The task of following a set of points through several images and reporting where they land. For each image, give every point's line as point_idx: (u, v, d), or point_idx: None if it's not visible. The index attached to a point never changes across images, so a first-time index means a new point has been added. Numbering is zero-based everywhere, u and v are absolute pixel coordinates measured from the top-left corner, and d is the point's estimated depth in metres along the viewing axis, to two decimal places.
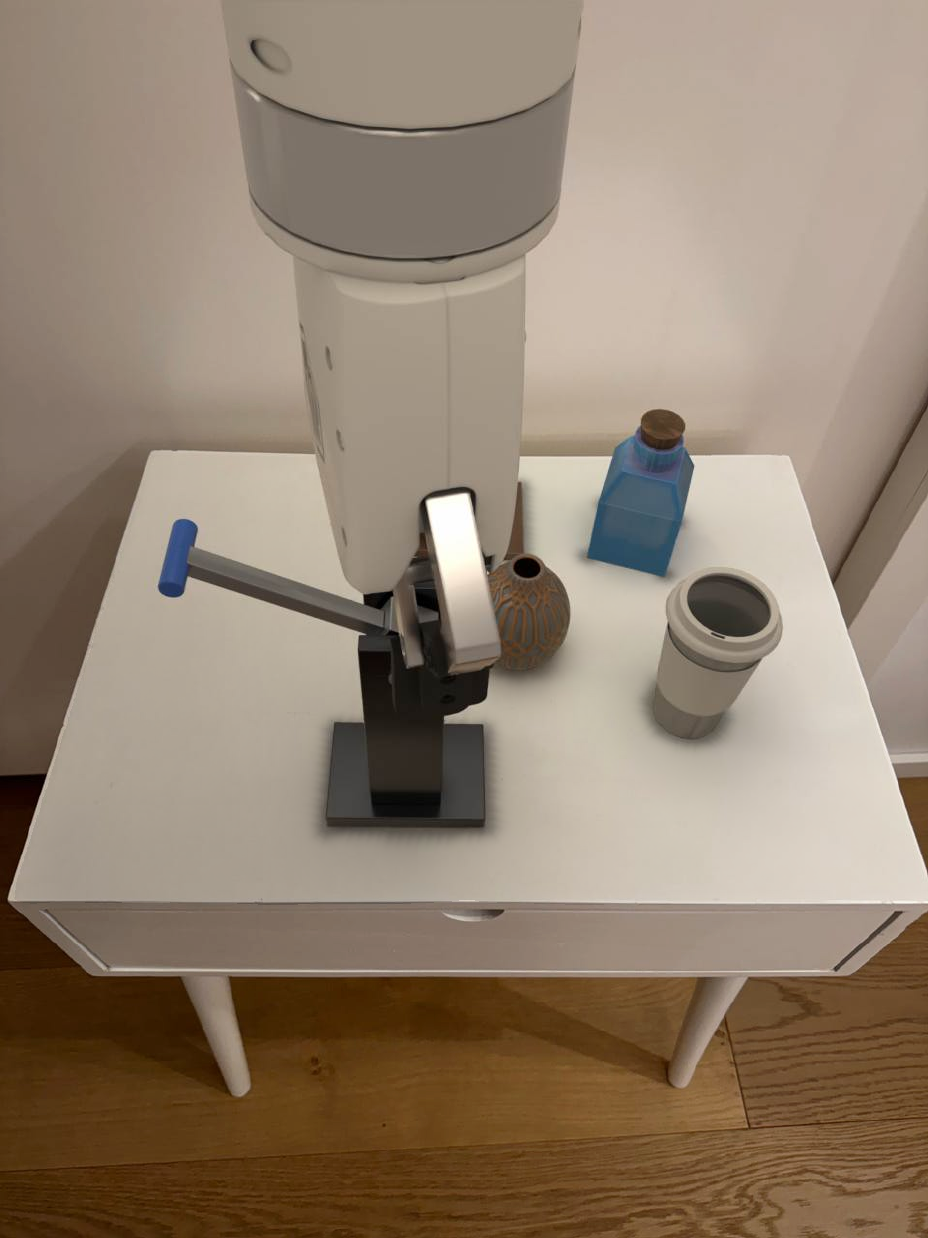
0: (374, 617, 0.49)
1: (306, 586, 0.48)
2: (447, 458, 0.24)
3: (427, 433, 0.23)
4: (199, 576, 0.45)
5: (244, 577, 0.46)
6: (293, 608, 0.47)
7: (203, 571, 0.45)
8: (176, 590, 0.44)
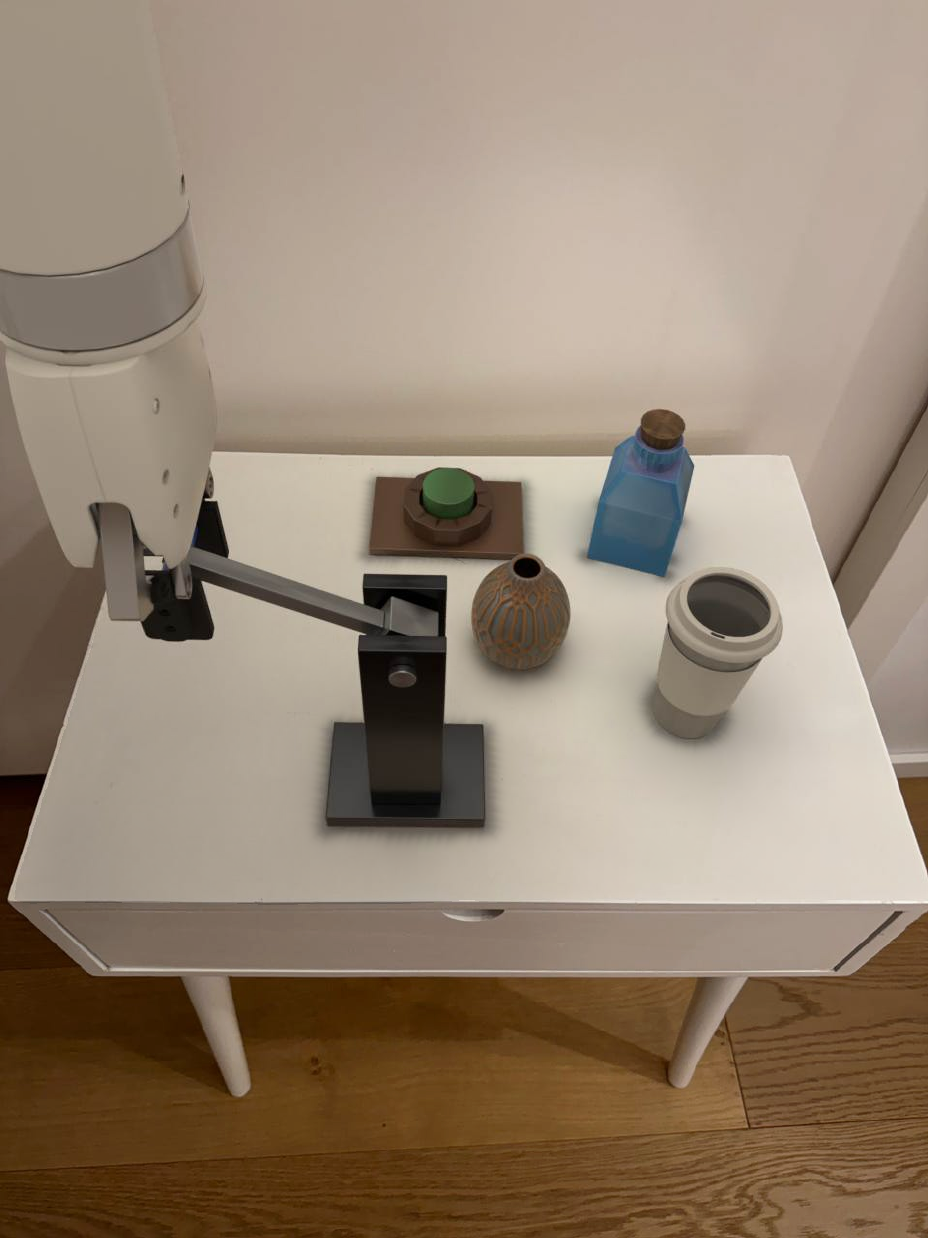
0: (374, 617, 0.49)
1: (306, 586, 0.48)
2: (98, 481, 0.34)
3: (77, 462, 0.34)
4: (199, 576, 0.45)
5: (244, 577, 0.46)
6: (293, 608, 0.47)
7: (203, 571, 0.45)
8: None
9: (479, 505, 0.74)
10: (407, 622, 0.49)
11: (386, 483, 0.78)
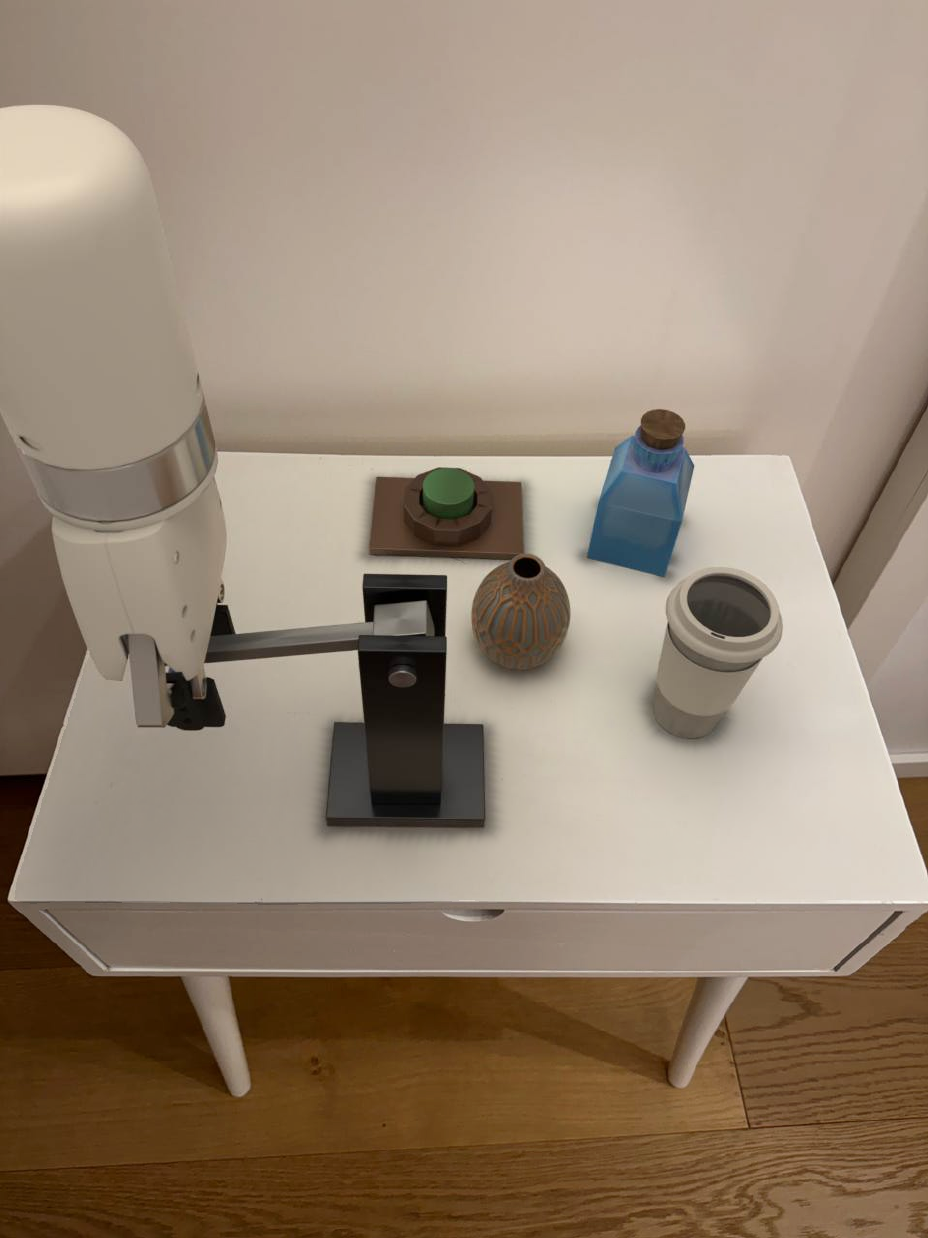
0: (365, 631, 0.50)
1: (295, 630, 0.50)
2: (127, 618, 0.41)
3: (110, 605, 0.40)
4: None
5: (236, 646, 0.50)
6: (293, 654, 0.50)
7: None
8: None
9: (479, 505, 0.74)
10: (391, 623, 0.49)
11: (386, 483, 0.78)
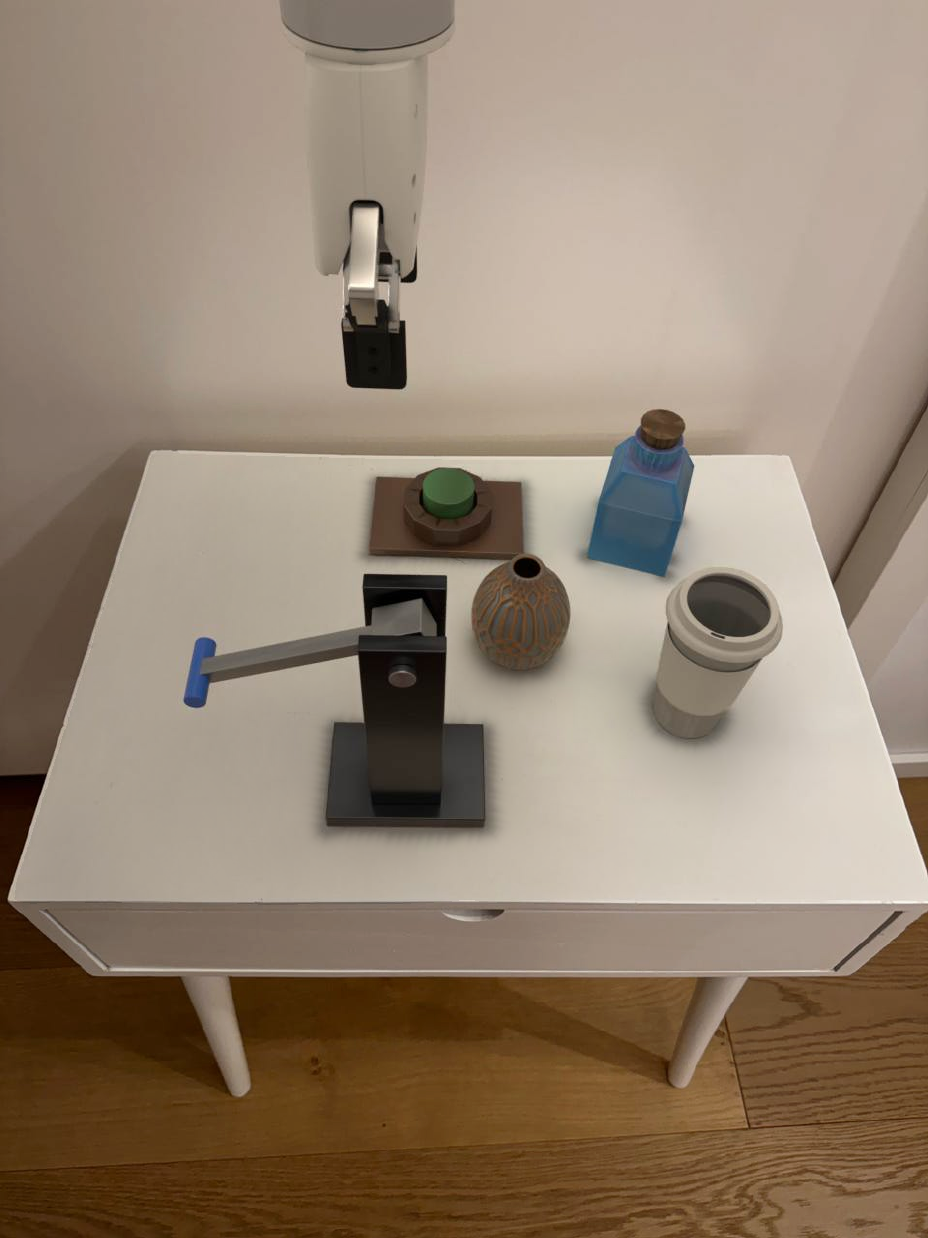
0: None
1: (300, 640, 0.51)
2: (363, 177, 0.42)
3: (351, 156, 0.41)
4: (219, 679, 0.52)
5: (246, 661, 0.51)
6: (301, 664, 0.51)
7: (216, 673, 0.52)
8: (196, 701, 0.51)
9: (479, 505, 0.74)
10: (388, 624, 0.49)
11: (386, 483, 0.78)
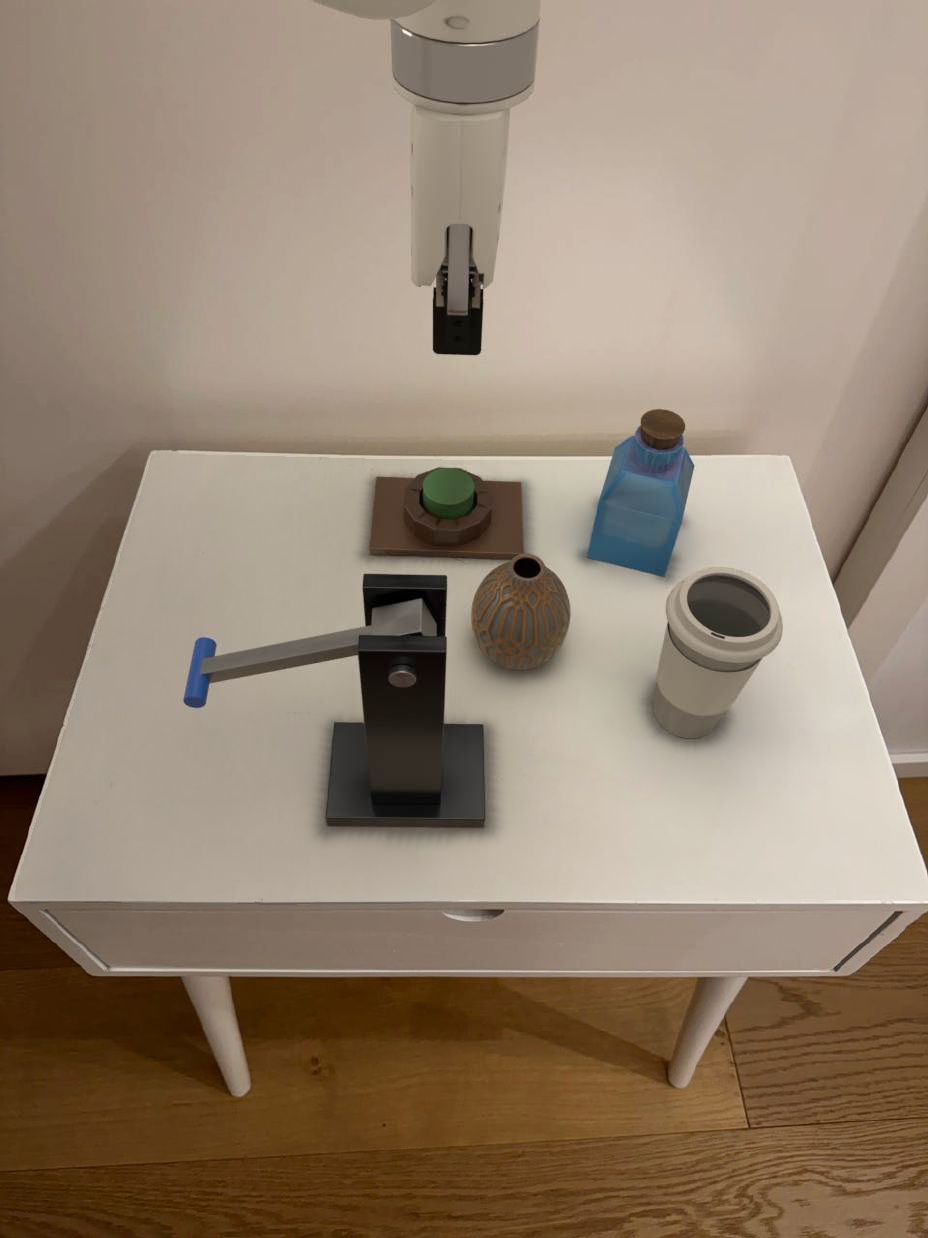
0: None
1: (300, 640, 0.51)
2: (459, 206, 0.51)
3: (450, 189, 0.50)
4: (219, 679, 0.52)
5: (246, 661, 0.51)
6: (301, 664, 0.51)
7: (216, 673, 0.52)
8: (196, 701, 0.51)
9: (479, 505, 0.74)
10: (388, 624, 0.49)
11: (386, 483, 0.78)
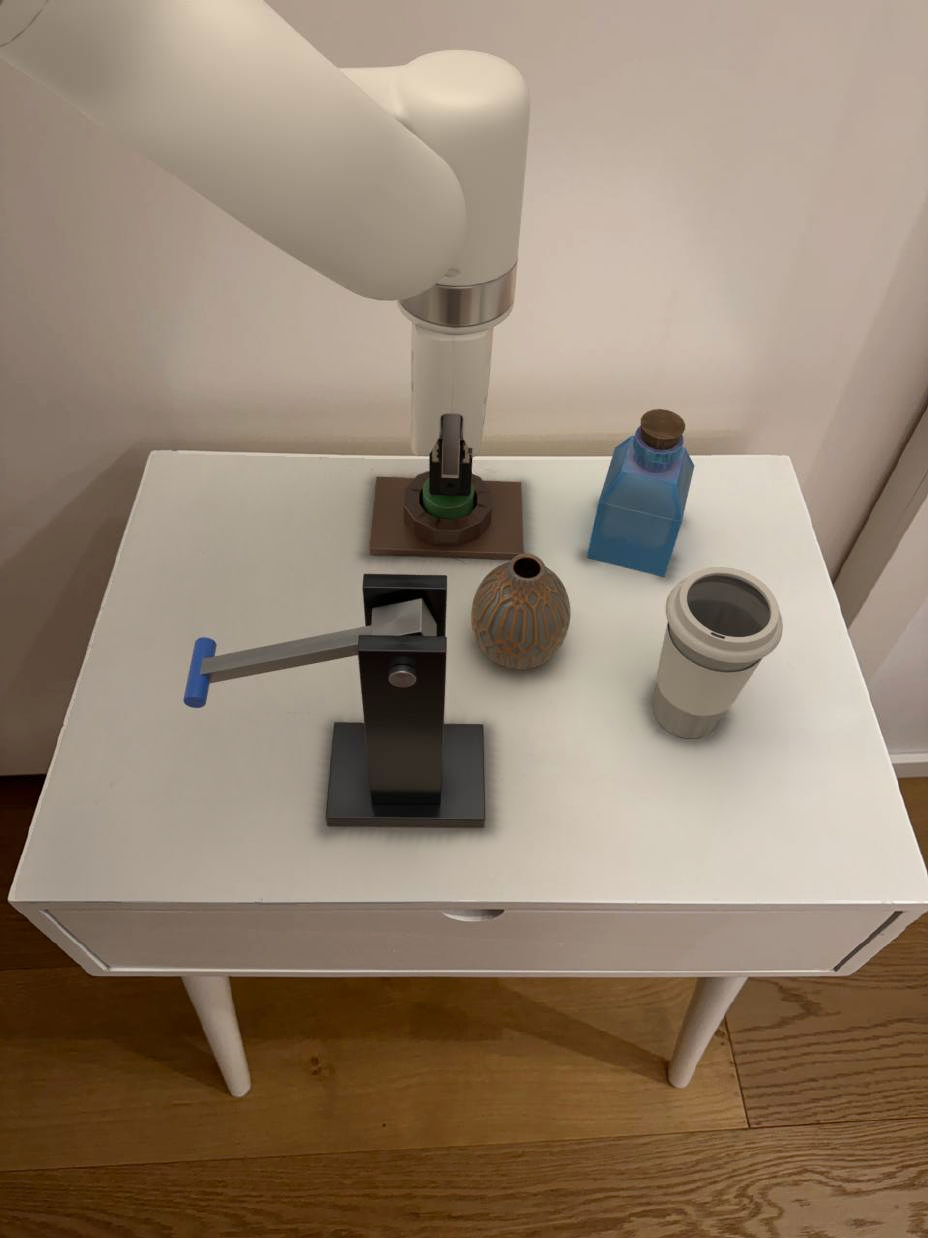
0: None
1: (300, 640, 0.51)
2: (451, 400, 0.61)
3: (444, 389, 0.60)
4: (219, 679, 0.52)
5: (246, 661, 0.51)
6: (301, 664, 0.51)
7: (216, 673, 0.52)
8: (196, 701, 0.51)
9: (479, 505, 0.74)
10: (388, 624, 0.49)
11: (386, 483, 0.78)
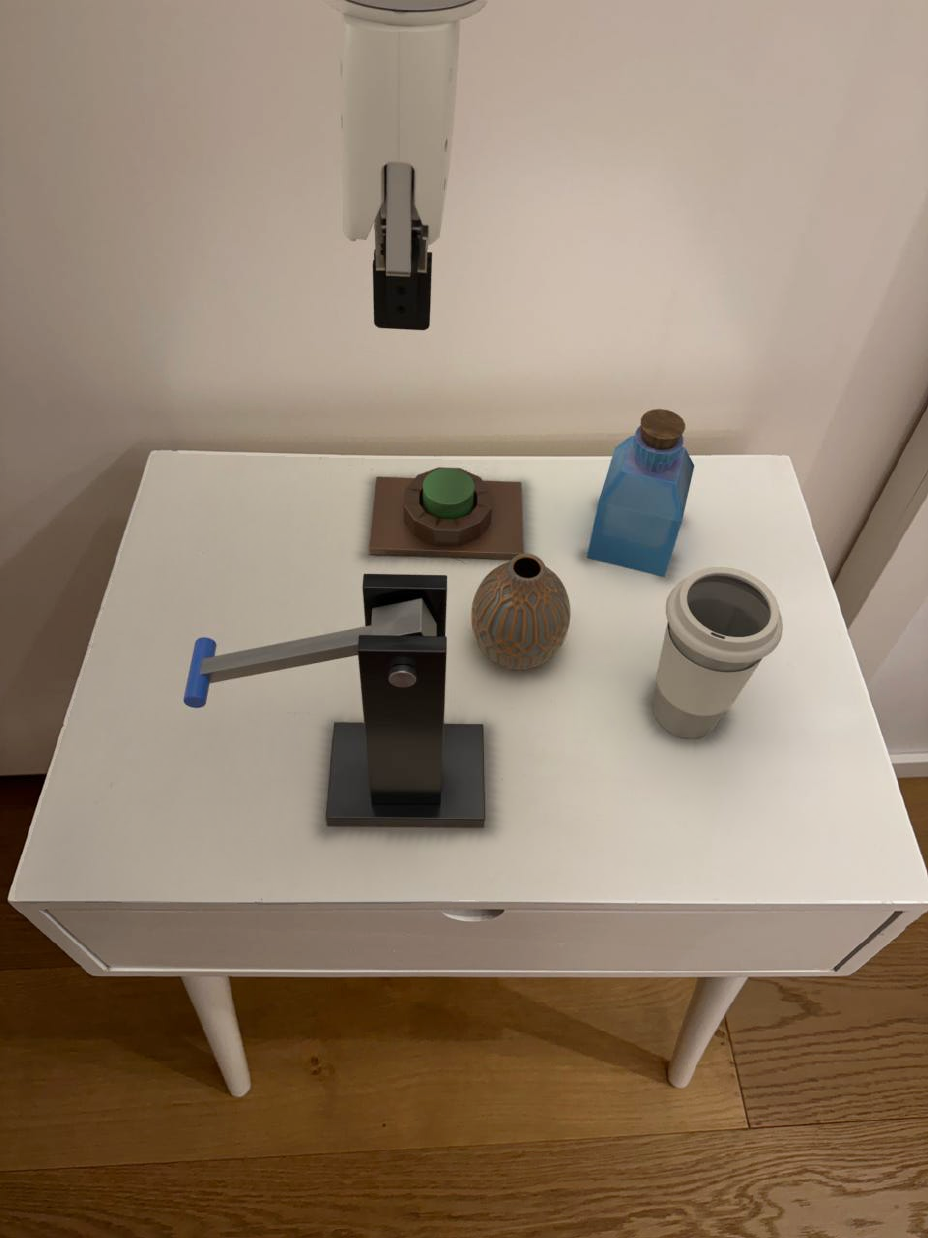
0: None
1: (300, 640, 0.51)
2: (397, 139, 0.42)
3: (386, 118, 0.42)
4: (219, 679, 0.52)
5: (246, 661, 0.51)
6: (301, 664, 0.51)
7: (216, 673, 0.52)
8: (196, 701, 0.51)
9: (479, 505, 0.74)
10: (388, 624, 0.49)
11: (386, 483, 0.78)
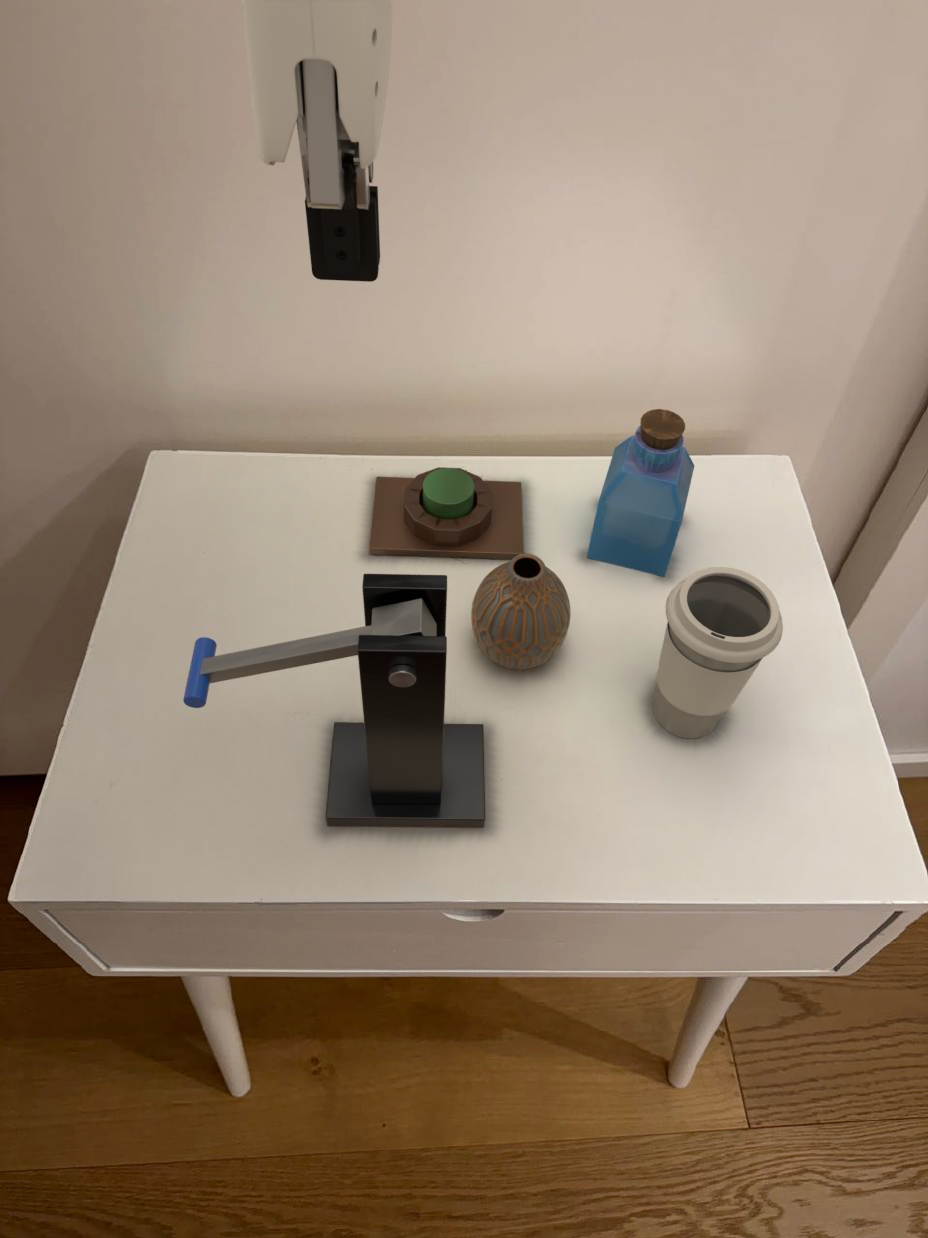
0: None
1: (300, 640, 0.51)
2: (311, 28, 0.34)
3: None
4: (219, 679, 0.52)
5: (246, 661, 0.51)
6: (301, 664, 0.51)
7: (216, 673, 0.52)
8: (196, 701, 0.51)
9: (479, 505, 0.74)
10: (388, 624, 0.49)
11: (386, 483, 0.78)
